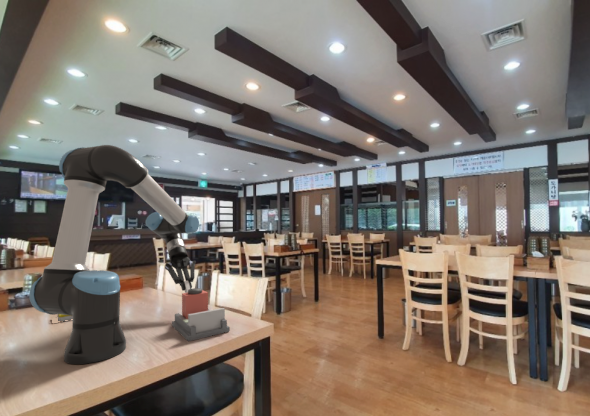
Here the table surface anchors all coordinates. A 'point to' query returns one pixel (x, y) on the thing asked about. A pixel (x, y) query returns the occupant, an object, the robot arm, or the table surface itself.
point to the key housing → (201, 324)
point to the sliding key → (194, 301)
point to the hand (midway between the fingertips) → (189, 295)
